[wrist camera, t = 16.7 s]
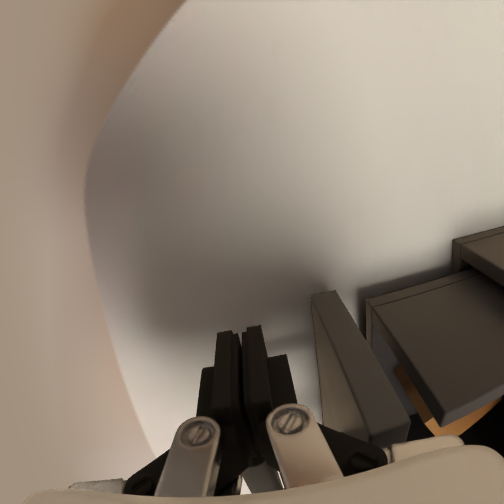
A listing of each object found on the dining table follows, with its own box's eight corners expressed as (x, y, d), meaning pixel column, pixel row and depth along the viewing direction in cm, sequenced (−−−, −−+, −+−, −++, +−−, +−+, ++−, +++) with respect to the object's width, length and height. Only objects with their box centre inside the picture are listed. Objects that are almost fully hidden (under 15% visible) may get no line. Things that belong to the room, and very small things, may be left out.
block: (416, 399, 15) (444, 446, 12) (392, 369, 14) (424, 424, 10) (467, 358, 15) (502, 399, 11) (451, 320, 13) (494, 365, 10)
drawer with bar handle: (261, 452, 18) (271, 554, 10) (215, 313, 14) (202, 466, 6) (496, 374, 17) (547, 437, 10) (527, 235, 13) (618, 286, 6)
